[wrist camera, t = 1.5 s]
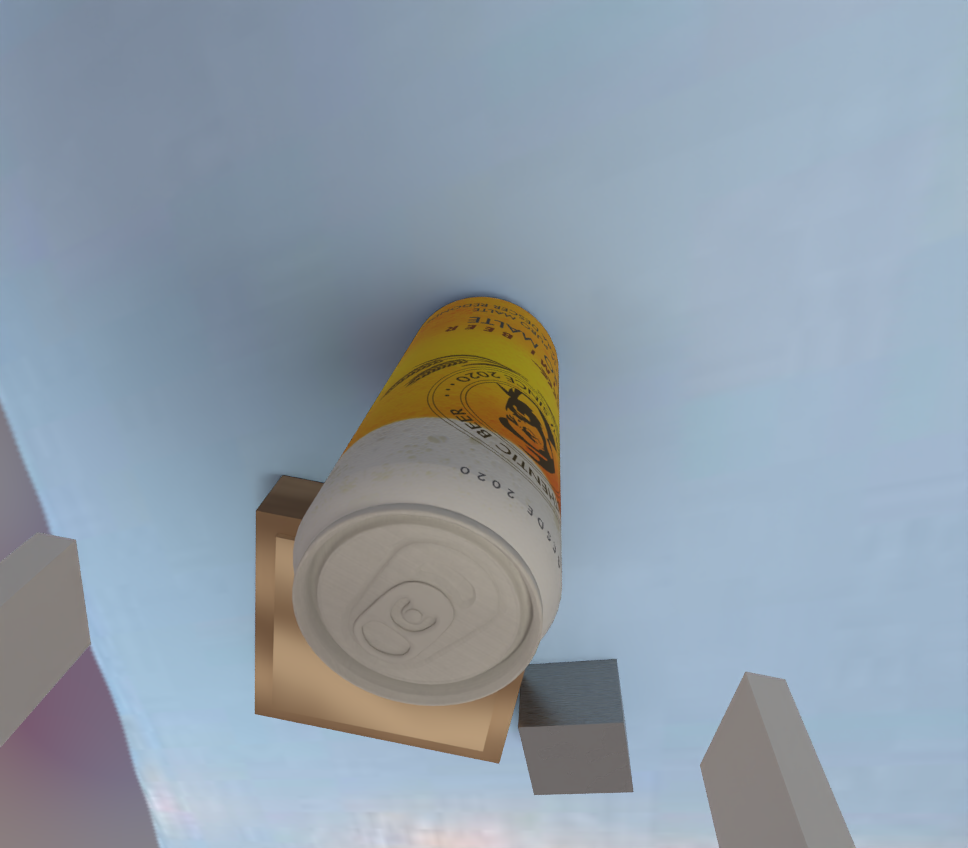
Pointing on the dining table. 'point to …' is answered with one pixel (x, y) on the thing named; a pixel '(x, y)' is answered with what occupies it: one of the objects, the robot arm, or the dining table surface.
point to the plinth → (323, 693)
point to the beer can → (442, 516)
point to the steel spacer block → (574, 728)
